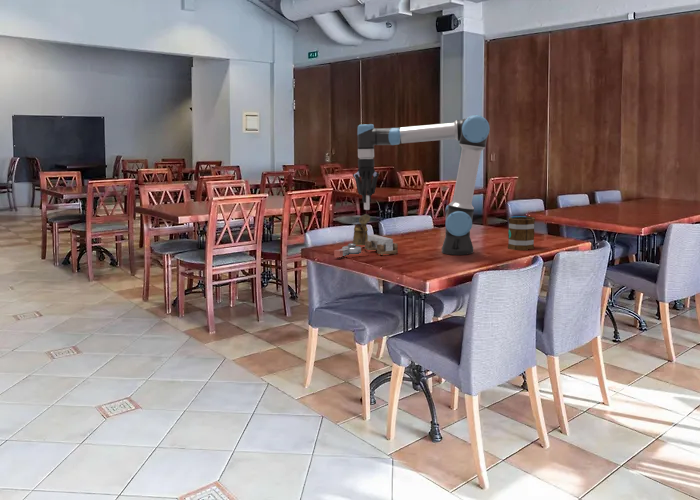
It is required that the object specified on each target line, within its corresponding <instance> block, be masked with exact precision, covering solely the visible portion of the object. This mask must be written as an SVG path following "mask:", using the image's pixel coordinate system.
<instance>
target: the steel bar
mask: <svg viewBox="0 0 700 500" xmlns="http://www.w3.org/2000/svg"><path fill="white" fill-rule="evenodd" d="M368 241H370V242H371V246H372V248H376V249H377V244H381V245H384V251H393V243H394V238H390V237H386V236H381V235H378V234H368Z"/></svg>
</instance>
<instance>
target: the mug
mask: <svg viewBox="0 0 700 500" xmlns="http://www.w3.org/2000/svg"><path fill="white" fill-rule="evenodd" d="M535 222H536V218H535V217H532V216H519V215H518V216H517V215H516V216H508V232H507V234H508V237H507V238H508V246H507V250H512V251H529V250H528V249H533V250H534V249H535V245H534V244H535V243H534V241H535Z"/></svg>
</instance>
